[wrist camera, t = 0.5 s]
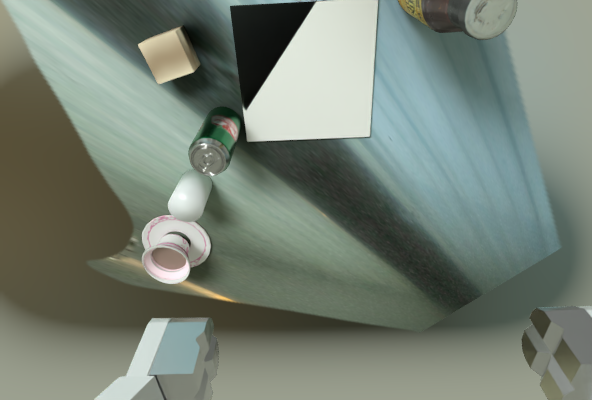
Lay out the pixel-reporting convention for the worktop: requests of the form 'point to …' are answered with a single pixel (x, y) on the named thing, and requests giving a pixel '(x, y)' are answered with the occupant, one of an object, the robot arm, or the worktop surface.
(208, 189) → the grey cylinder
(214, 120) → the soda can
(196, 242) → the teacup
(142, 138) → the worktop surface
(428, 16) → the sauce bottle
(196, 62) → the birch block
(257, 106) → the mat
